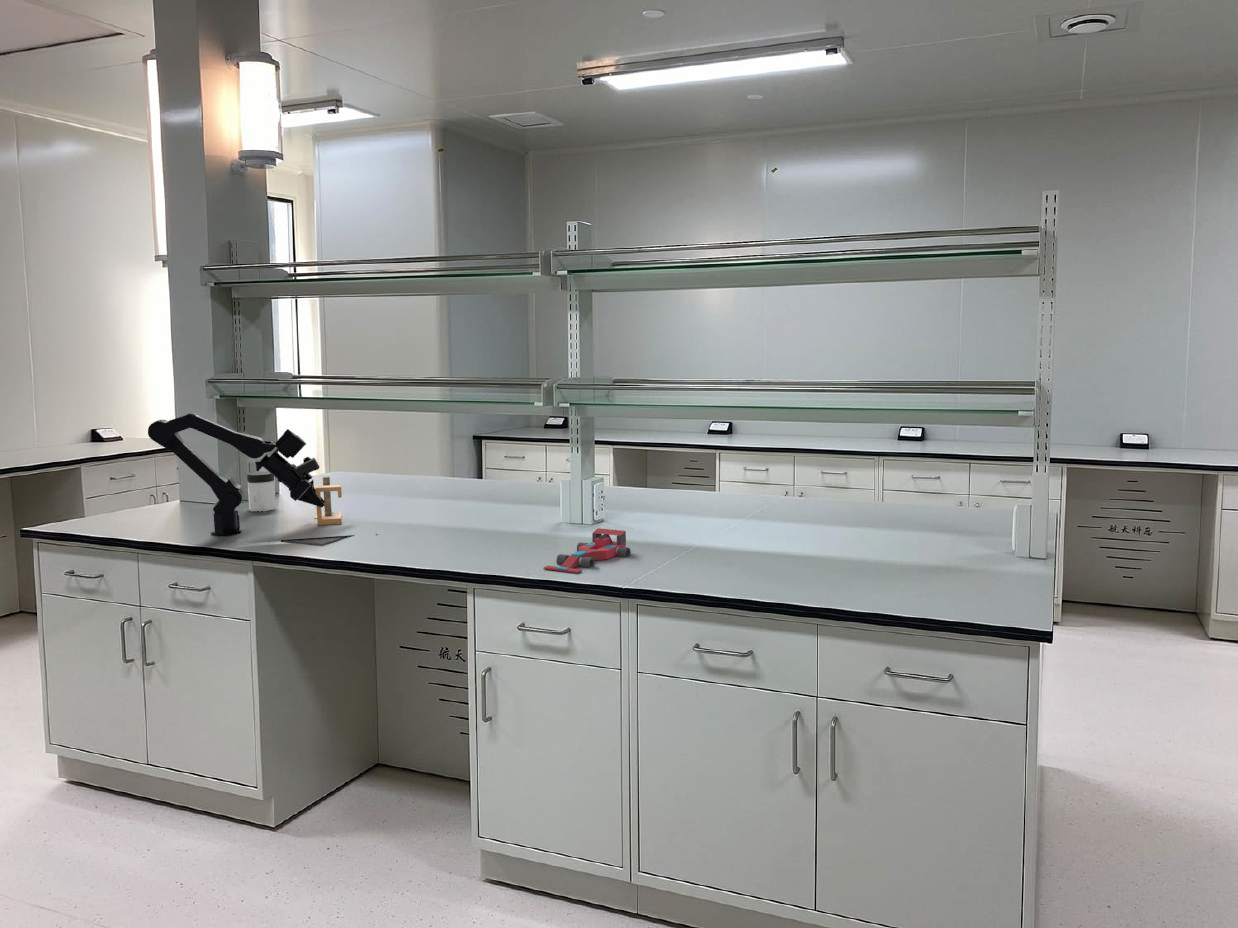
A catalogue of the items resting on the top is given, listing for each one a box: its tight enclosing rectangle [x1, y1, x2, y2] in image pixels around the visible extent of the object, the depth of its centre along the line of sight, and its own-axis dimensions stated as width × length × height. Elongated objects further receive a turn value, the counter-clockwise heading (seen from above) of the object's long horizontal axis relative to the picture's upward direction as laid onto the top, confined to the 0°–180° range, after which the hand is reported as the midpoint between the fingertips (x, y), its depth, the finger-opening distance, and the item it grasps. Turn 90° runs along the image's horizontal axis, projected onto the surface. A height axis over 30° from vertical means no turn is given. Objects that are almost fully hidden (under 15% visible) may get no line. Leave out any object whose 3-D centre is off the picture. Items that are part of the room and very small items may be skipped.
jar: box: [246, 471, 277, 513], centre depth 317 cm, size 9×8×12 cm
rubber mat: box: [280, 534, 355, 546], centre depth 271 cm, size 14×14×1 cm
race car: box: [542, 528, 632, 574], centre depth 240 cm, size 14×6×25 cm
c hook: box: [314, 484, 343, 526], centre depth 287 cm, size 7×4×11 cm, turn 106°
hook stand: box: [313, 476, 343, 520], centre depth 294 cm, size 8×20×13 cm, turn 16°
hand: (323, 504), depth 287 cm, fingers open, 5 cm apart
